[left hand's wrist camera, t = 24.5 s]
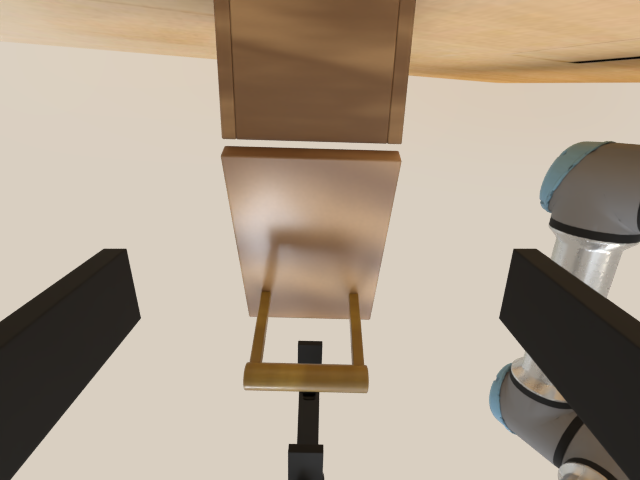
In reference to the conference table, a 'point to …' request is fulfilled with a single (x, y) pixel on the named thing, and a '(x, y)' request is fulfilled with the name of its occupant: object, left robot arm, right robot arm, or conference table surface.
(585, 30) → the conference table surface
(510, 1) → the conference table surface
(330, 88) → the chest
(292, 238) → the lid
